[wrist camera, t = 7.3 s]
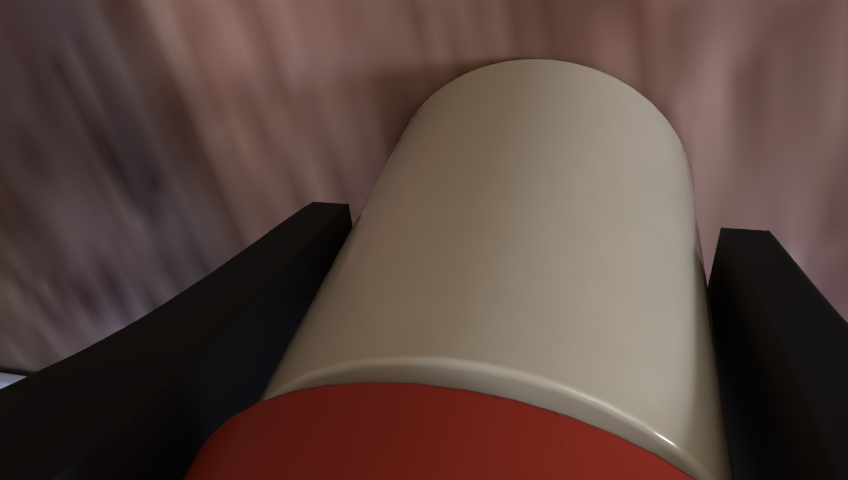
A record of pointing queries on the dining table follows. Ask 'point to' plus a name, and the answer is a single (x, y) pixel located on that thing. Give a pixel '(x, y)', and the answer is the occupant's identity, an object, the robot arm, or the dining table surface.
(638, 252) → the jam jar
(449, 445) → the jar lid
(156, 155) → the dining table surface
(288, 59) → the dining table surface
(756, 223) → the dining table surface
